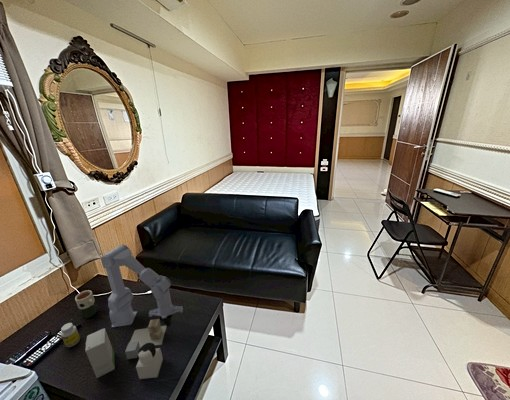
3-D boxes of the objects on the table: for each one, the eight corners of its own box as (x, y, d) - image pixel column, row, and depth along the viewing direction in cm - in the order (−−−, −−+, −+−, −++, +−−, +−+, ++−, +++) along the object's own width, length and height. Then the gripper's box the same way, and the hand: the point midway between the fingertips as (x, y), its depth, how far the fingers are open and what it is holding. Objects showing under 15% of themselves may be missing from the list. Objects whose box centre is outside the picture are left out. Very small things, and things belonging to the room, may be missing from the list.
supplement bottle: (64, 349, 96) (57, 333, 93) (67, 339, 101) (60, 324, 97) (78, 344, 98) (72, 328, 95) (81, 334, 103) (75, 319, 100)
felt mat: (126, 350, 95) (126, 349, 95) (135, 330, 105) (135, 329, 104) (161, 344, 97) (161, 344, 97) (166, 325, 107) (166, 325, 106)
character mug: (76, 316, 113) (69, 297, 109) (90, 306, 119) (83, 287, 115) (90, 322, 109) (83, 302, 105) (103, 311, 116) (97, 292, 111)
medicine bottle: (146, 360, 91) (140, 340, 87) (163, 359, 91) (158, 339, 87) (139, 379, 84) (132, 358, 80) (157, 377, 85) (152, 356, 81)
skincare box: (114, 369, 88) (105, 342, 82) (95, 379, 84) (84, 352, 79) (114, 352, 94) (105, 326, 89) (96, 361, 91) (86, 335, 86)
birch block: (151, 340, 99) (147, 327, 97) (153, 332, 103) (150, 320, 100) (159, 338, 100) (156, 326, 97) (162, 331, 103) (159, 318, 101)
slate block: (127, 359, 91) (124, 351, 90) (131, 350, 95) (128, 342, 93) (137, 358, 92) (135, 350, 90) (140, 349, 96) (138, 341, 94)
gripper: (144, 311, 91) (150, 334, 96) (179, 307, 93) (183, 330, 98) (149, 299, 98) (154, 321, 102) (182, 295, 100) (185, 317, 104)
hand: (168, 324), depth 100 cm, fingers closed
